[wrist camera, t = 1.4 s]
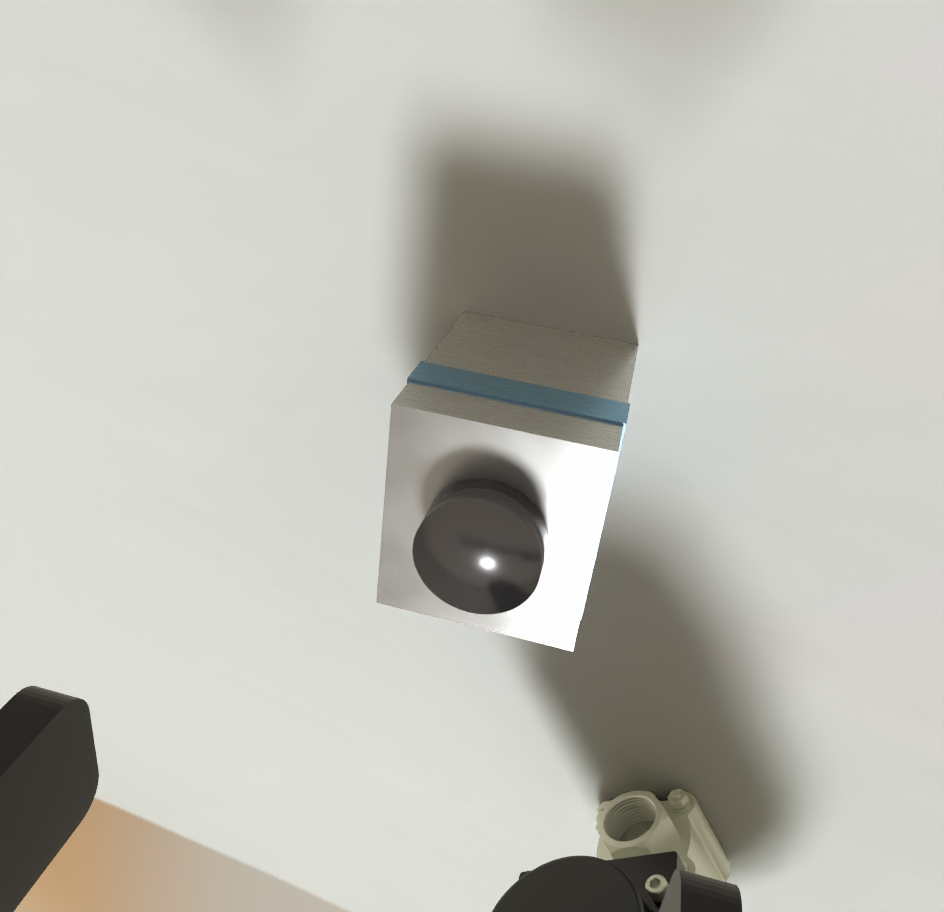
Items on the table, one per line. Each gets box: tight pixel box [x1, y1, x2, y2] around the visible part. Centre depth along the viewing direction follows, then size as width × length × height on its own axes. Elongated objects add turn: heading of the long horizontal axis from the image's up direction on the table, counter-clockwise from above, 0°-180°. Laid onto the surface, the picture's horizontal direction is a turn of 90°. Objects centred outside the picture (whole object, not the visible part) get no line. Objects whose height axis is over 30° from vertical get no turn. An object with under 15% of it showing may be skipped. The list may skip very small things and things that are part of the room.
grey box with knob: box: [377, 311, 638, 652], centre depth 20 cm, size 5×5×7 cm
